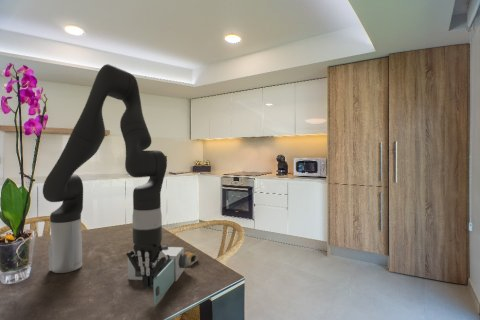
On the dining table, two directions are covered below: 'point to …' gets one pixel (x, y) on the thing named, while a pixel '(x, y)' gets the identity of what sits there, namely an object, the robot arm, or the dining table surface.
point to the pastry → (191, 258)
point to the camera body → (173, 252)
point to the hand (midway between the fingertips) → (148, 287)
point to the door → (164, 281)
